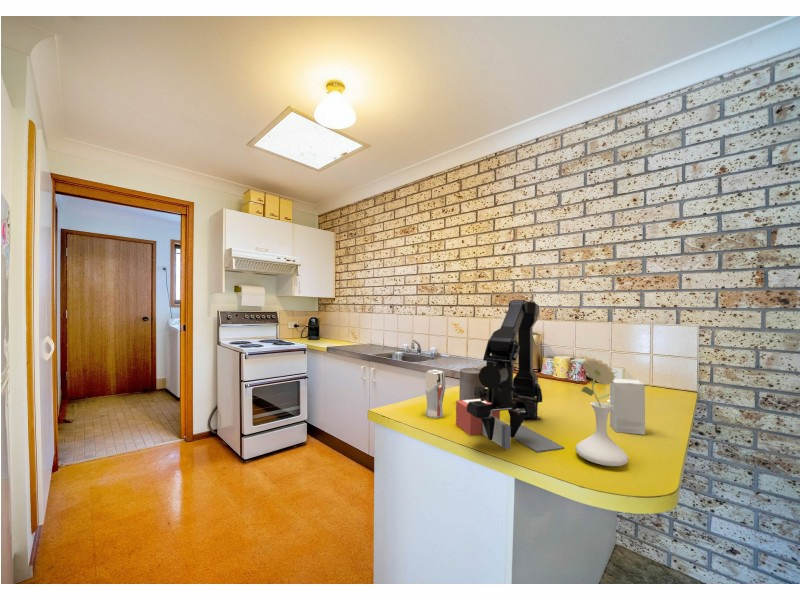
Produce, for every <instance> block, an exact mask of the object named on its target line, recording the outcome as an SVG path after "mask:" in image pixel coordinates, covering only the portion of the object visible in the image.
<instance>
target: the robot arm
mask: <svg viewBox="0 0 800 600" xmlns="http://www.w3.org/2000/svg"><path fill="white" fill-rule="evenodd" d="M538 316H540V305H539V304H538V303H536V301H528V300H525V299H511V300H509V302H508V310H507V312H506V314H505V315H504V319H503V321H502V323H501V325H500V328H498V329H497V330H495V331H493V333H492V334H491V336H490V338H489V339H488V341H487V344H486V347H485V352H484V355H483V358H482V360H483V362H484V361H485V362H486V365H484V366H483V367H481V368H480V369H481V370H480V372H479V380H480V382H481V384H482V385H483V386H485V387H486V388H485V389H484V388H483V386H477V387H475V391H474V394H475V397H476V398H480V399H481V401H484V400H486V401H487V402H490V403H491V404H485V403H483V402H481V401H472V402H469V403H468V405H467V412H468V413H470V414H472V415H473V416H475V417H476V418H481V420H482V422H483V424H484V427H485V430H486V433H487V436H488V437H487V436H486V437H487V438H488V440H490V441H492V438H493V432H494V424H495V418H494V417H493V416H492V411H500V412H502V411H503V412H504V411H507V412H508V414H509V425H510V426H511V435H510V439H511V438H512V439H514V436H515V434H516V433H517V431H518V429H519V427H520V425H523V423H524V422H527V421H528V422H529V421H540V420H541V417H539V416H538V414H539V413H538V411H539V410H538V409H539V408H538V405H539V404H540V403H543V392H542V388H541V386H540V384H539V377H538V376H537V374H536V373H535V372H534V363H533V362H534V360H533V359H534V358H533V357H534V355H533V354H534V353H533V350H534V346H533V338H534V337H533V327H534V326H535V324H536V323H537V321H538ZM517 359H518V360H517ZM516 361H517V362H518V365H517V366H518V368H517V369H518V371H517V373H516V374H515V376H514V363H515V362H516ZM496 407H498V408H496Z"/></svg>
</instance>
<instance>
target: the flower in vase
mask: <svg viewBox="0 0 800 600" xmlns="http://www.w3.org/2000/svg"><path fill="white" fill-rule="evenodd" d="M582 365H583V366H582V369H583V370H584V371H585V373H586V374H587V376H588V377H589V378H590V379H592V383H591V384H592V385H591V388H590V387H588V386H583V388H581V390H580V392H583V393H584V394H587V395H588V396H593V395H594V397H595V399H596V400H597V401H591V402H590V405H591V408H592V409H593V410H594V411H593V412H594V414H595V415H594V416H595V420H596V421H595V423H596V424H595V425H596V427H595V432H594V433H593V434H592V435H590V436H588V437H586V438H584V439H582V440H581V441H579V442H578V443H577V444H576V446H575V448H574V449H575V452H576V453H577V454H578V455H579V456H580V457H581V458H583V459H585V460H587V461H588V462H591V463H594V464H597V465H601V466H606V467H621V466H625V465H626V464H627V463H628V462H629V456H628V454H627V453H626V451H624V450H623V448H621V446H619V445H618V444H617V443H616V442H615V441H614V440H613V439H611V438H610V436H609V434H608V431H607V427H608V425H607V424H608V417H609V415H610V410H611V409H612V408H613V406H612V405H610V403H607V402H606V403H605V402H601V401H600V400H601V399H605V398H607V397H608V398H609V396H610V395H611V394H612V393H611V394H610V393H608V394H603V395H601V396H599V397H598V396H597V394H596V392H595V390H594V386H595V381H596V382H597V383H598V384H601V385H606V384H607V385H610V383H614V382H613V381H612V380H614V379H615V378H616V376H615V372H614V371H612V370H613V368H612V366H609V365H608V363H605V362H603V360H602V359H597V358H595V357H593V358H592V357H590V358H589V359H586V358H585V360H583V363H582Z"/></svg>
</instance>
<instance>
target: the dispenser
mask: <svg viewBox="0 0 800 600" xmlns="http://www.w3.org/2000/svg"><path fill="white" fill-rule="evenodd" d="M472 401H481V399H473V400H461V401H459V400H456V403H455V425H456V426H457V427H459V428H460V429H461V430H462V431H464V432H466V433H467V434H468V435H469V436H474V435H475V436H476V435H483V434H482V420H481V418H476V417H475V416H473V415H472V414H470V413H468V412H467V405H468V403H469V402H472ZM481 402H483V403H485V404H491V403H490V402H487V401H486V400H484V401H481ZM496 408H498V407H496ZM492 416H494V417H496V418H497V419H499V420H501V411H492Z"/></svg>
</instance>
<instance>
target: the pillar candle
mask: <svg viewBox="0 0 800 600" xmlns="http://www.w3.org/2000/svg"><path fill="white" fill-rule="evenodd" d="M481 369H482V368H478V367H474V366H472V367H463V368H459V400H458V401H461V400H473V399H480V398H476V397H475V394H474V391H475V387H477V386H483V385H482V384H481V382H480V380H479V372H480V370H481ZM483 388H484V389H487V388H486V387H485V386H483Z"/></svg>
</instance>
